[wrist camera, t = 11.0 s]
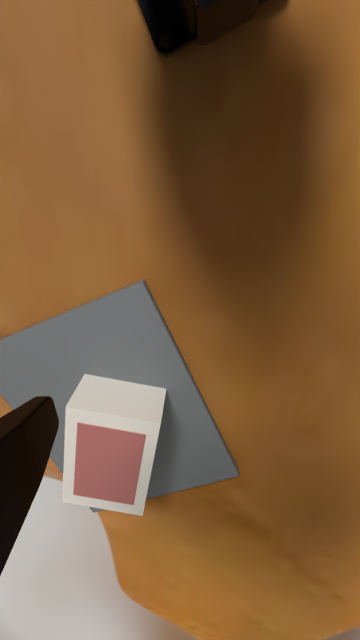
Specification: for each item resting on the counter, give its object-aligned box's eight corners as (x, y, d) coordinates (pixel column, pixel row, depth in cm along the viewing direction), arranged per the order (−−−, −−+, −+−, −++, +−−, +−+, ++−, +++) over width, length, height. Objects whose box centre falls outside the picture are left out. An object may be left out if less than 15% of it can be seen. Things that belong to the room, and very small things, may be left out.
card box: (78, 462, 27) (61, 502, 24) (84, 373, 24) (65, 407, 20) (149, 474, 27) (142, 516, 24) (166, 388, 24) (160, 424, 20)
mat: (-26, 349, 24) (-31, 354, 23) (144, 279, 21) (142, 282, 20) (95, 506, 30) (93, 512, 30) (238, 469, 27) (239, 475, 27)
